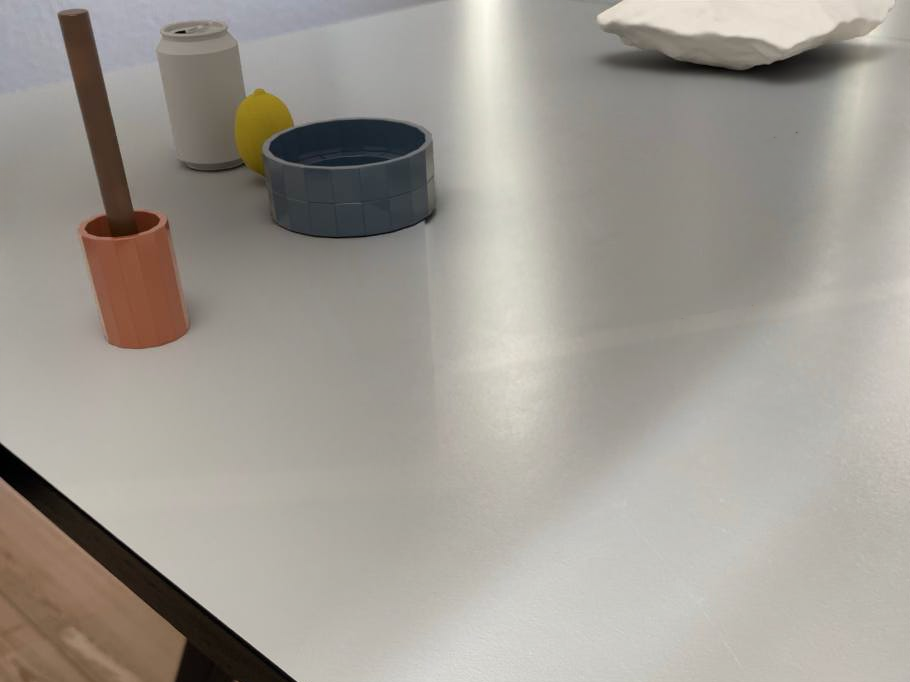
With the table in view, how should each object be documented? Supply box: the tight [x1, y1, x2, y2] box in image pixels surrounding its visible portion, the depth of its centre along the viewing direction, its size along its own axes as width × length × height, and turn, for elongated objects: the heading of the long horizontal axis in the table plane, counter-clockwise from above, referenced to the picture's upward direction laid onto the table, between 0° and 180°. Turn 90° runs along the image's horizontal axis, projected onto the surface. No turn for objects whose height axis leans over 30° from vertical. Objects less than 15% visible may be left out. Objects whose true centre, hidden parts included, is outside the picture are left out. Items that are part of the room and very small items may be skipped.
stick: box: [57, 8, 139, 237], centre depth 73 cm, size 2×2×20 cm
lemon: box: [235, 88, 295, 179], centre depth 102 cm, size 6×6×8 cm
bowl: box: [261, 116, 437, 238], centre depth 95 cm, size 14×14×6 cm
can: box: [155, 19, 247, 171], centre depth 106 cm, size 8×8×12 cm
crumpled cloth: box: [596, 0, 897, 71], centre depth 130 cm, size 24×35×9 cm
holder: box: [76, 208, 191, 350], centre depth 77 cm, size 6×6×8 cm
